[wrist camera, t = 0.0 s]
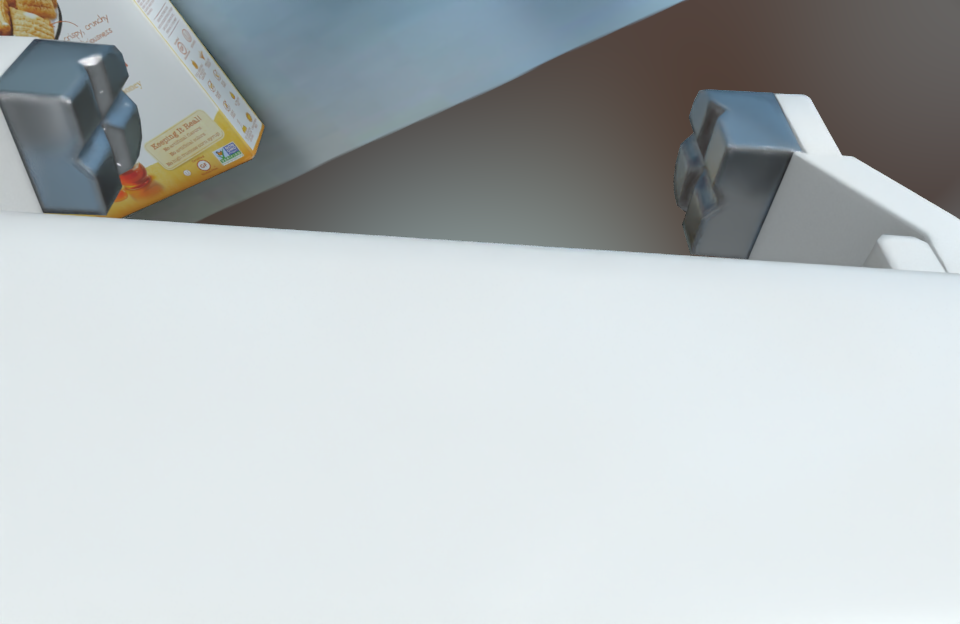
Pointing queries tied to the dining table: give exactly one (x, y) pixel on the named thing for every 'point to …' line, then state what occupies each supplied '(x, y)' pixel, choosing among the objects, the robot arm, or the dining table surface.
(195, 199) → the dining table surface
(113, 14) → the cereal box
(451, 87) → the dining table surface
